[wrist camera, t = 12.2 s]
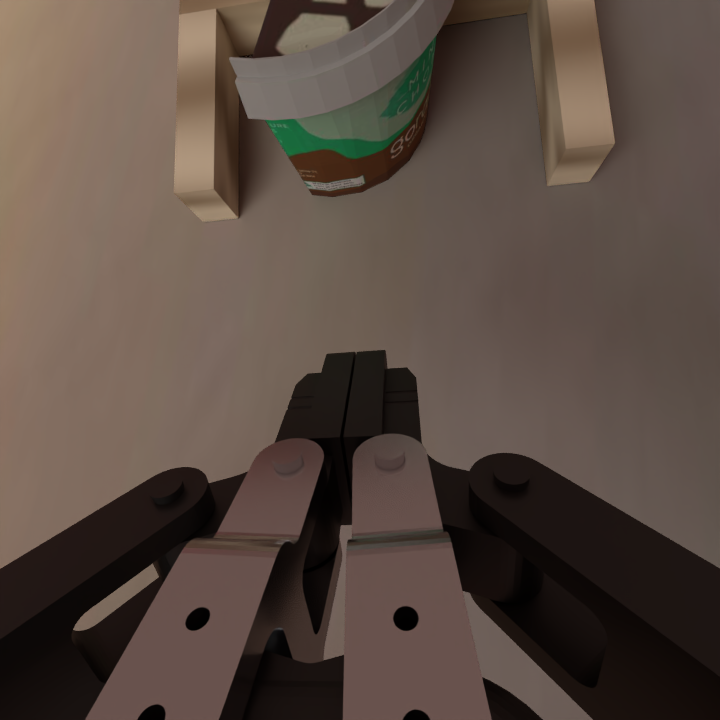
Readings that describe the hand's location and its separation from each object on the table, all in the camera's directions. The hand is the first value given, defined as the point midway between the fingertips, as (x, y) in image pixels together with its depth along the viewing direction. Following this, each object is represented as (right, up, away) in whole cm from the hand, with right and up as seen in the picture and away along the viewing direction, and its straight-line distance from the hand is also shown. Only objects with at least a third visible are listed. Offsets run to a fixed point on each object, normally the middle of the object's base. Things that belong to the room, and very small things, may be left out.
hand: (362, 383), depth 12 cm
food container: (+2, +13, +13) cm, 18 cm away
